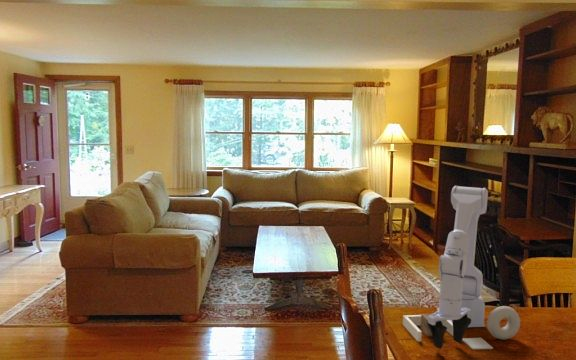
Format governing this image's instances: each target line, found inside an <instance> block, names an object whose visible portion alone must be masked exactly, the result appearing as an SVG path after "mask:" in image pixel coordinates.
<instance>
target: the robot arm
mask: <svg viewBox="0 0 576 360" xmlns="http://www.w3.org/2000/svg"><path fill="white" fill-rule="evenodd" d="M488 196H489V192H488V189H487V188H486V187H483V188H482V187H474V186H473V187H471V186H460V185H454V186H453V187H452V189H451V192H450V203H451V205H452V208H453V209H454V210H455V211H456V212H455V217H454V218H455V219H454V226H453V230H452V231H450V232H449V233H448V235H447V239H446V243H445V249H444V253H443V254H441V255H440V257H439V262H438V273H439V279H438V280H439V281H440V285H439V286H440V287H439V288H440V289H439V304H438V307H437V308H436V311H435V312H433V313H431V314H432V315H430V316H428V320H427V324H428V326H429V328H430V331H431V333H432V336H431V337H432V341H433V345H434V347H435V348H438V349H440V350H441V349H442V348H443V346H444V338H445V334H446V332H447V327H445V326H443V324H442V322H443V321H447V320H450V321H451V322H452V323H453V336H452V337H453V341H454V342H456V343H457V344H458V343H459V344H461V343H462V342H463V341H462V339H463V338H464V337H465V336H464V335H465V333H466V330H467V329H468V328H483V327H484V328H485V327H486V324H485V310H486V307H485V306H486V304H485V300H484V298H483V297H482V293H483V292H482V291H483V286H484V285H483V284H484V282H483V278H484V277H483V276H484V275H483V273H482V271H481V270H480V269H478V267H476V266H475V259H476V257H475V255H476V243H477V234H478V222H479V218H480V216H481V215H484V214H486V212H487V207H488V199H489V197H488Z"/></svg>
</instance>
